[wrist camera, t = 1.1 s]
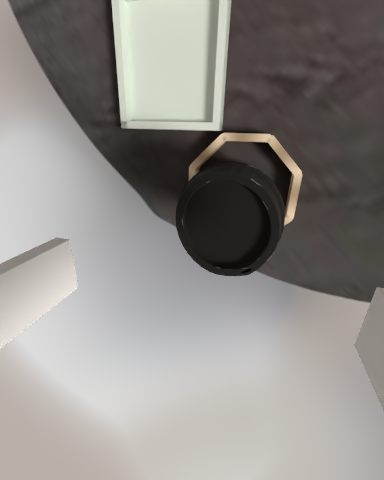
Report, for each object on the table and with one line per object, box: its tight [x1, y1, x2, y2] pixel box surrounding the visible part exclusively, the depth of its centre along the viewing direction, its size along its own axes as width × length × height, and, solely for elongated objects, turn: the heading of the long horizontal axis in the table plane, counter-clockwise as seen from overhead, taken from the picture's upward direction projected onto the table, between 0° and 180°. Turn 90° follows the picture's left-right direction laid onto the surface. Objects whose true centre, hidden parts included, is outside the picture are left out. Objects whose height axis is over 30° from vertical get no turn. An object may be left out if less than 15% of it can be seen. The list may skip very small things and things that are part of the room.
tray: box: [111, 0, 231, 131], centre depth 26 cm, size 13×12×2 cm
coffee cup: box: [176, 162, 285, 276], centre depth 24 cm, size 8×8×15 cm
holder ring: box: [189, 133, 302, 225], centre depth 29 cm, size 13×13×2 cm
